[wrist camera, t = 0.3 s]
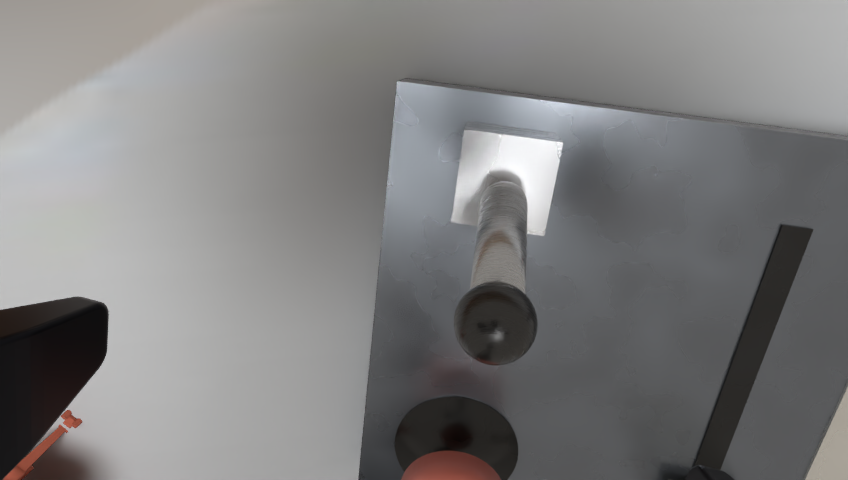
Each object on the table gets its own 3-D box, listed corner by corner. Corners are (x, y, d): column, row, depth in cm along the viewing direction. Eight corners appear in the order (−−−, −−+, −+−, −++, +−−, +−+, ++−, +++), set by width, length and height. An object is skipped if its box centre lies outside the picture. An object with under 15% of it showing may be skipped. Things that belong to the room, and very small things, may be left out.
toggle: (530, 218, 17) (528, 387, 13) (468, 209, 17) (445, 374, 13) (544, 168, 16) (546, 339, 11) (476, 159, 16) (453, 324, 12)
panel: (792, 539, 25) (846, 626, 21) (366, 463, 26) (345, 532, 22) (975, 152, 19) (1097, 178, 15) (405, 78, 20) (386, 84, 16)
